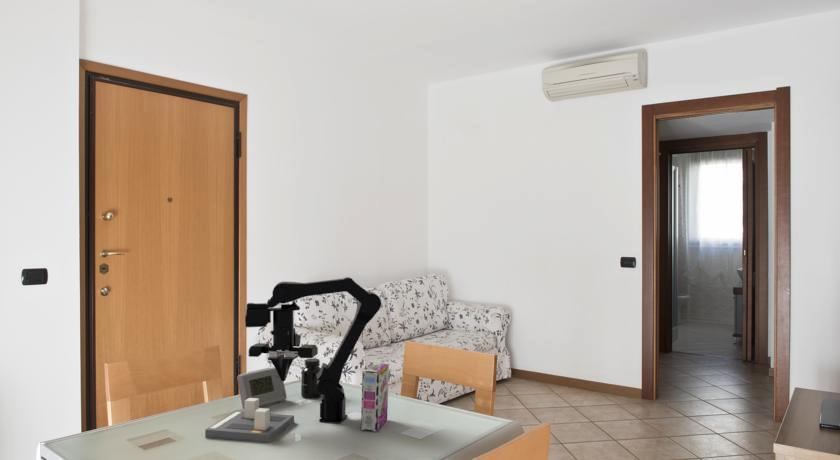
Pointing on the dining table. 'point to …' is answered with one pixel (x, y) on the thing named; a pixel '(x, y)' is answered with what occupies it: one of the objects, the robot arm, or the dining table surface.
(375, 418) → the candy bar box
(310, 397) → the supplement bottle
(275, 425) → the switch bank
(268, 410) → the switch tab
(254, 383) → the digital clock
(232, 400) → the dining table surface
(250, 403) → the switch tab
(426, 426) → the dining table surface
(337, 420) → the robot arm
